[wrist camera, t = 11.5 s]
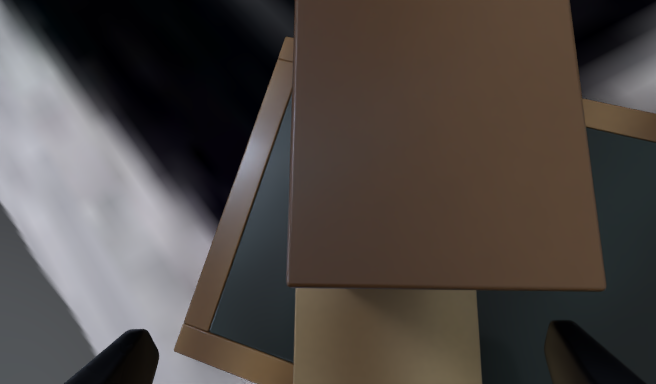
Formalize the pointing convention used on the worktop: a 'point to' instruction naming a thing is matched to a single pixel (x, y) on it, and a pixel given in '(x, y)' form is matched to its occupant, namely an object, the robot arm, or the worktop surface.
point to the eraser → (430, 180)
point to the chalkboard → (493, 306)
